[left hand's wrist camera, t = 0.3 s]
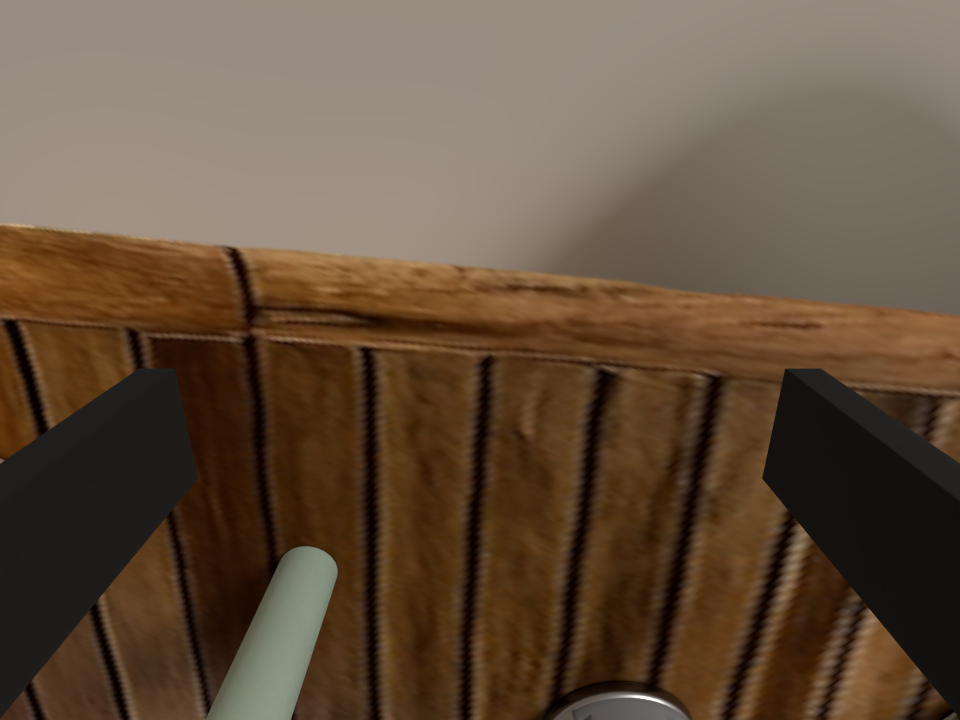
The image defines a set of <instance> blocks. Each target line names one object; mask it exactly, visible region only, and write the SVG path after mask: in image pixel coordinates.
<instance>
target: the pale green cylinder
mask: <svg viewBox="0 0 960 720" xmlns="http://www.w3.org/2000/svg"><path fill="white" fill-rule="evenodd" d="M337 574H338V571H337V566H336V563H335V561H334V560H333V559H332V557H331V556H330V555H329V554H327V553H326V552H324V551H323V550H321V549H318V548H315V547H309V546H302V547H296V548H294V549H291V550H290V551H288V552H287V553H286V554H284V556H283V557H282V559H281V561H280V563H279V565H278V567H277V569H276V571H275V573H274V575H273V578H272V580H271V582H270V584H269V586H268V588H267V590H266V592H265V595H264V597H263V599H262V601H261V603H260V605H259V607H258V610H257V612H256V614H255V616H254V618H253V620H252V622H251V624H250V627H249V629H248V631H247V633H246V635H245V637H244V639H243V641H242V644H241V646H240V648H239V650H238V652H237V654H236V656H235V659H234V661H233V663H232V665H231V667H230V669H229V671H228V673H227V676H226V678H225V680H224V682H223V684H222V686H221V688H220V690H219V693H218V695H217V697H216V699H215V701H214V703H213V705H212V708H211V710H210V712H209V714H208V716H207V718H206V720H291V717H292V714H293V711H294V708H295V705H296V702H297V699H298V696H299V693H300V689H301V686H302V683H303V680H304V677H305V674H306V671H307V668H308V665H309V662H310V659H311V656H312V652H313V649H314V646H315V643H316V640H317V637H318V634H319V631H320V628H321V625H322V622H323V618H324V615H325V612H326V609H327V606H328V603H329V600H330V597H331V594H332V591H333V588H334V585H335V581H336V578H337Z"/></svg>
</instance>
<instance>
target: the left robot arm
mask: <svg viewBox="0 0 960 720" xmlns="http://www.w3.org/2000/svg"><path fill="white" fill-rule="evenodd" d="M197 479H198V478H197V473H196V468H195V463H194V459H193V454H192V449H191V444H190V439H189V435H188V430H187V425H186V420H185V416H184V411H183V406H182V401H181V396H180V392H179V387H178V382H177V377H176V373H175V369H138V370H136V371H135V372H134V373H132V374H131V375H129V376H128V377H126V378H125V379H123V380H122V381H120V382H119V383H117V384H116V385H115V386H113V387H112V388H110V389H109V390H107V391H106V392H104V393H103V394H101V395H100V396H98V397H97V398H95V399H94V400H93V401H91V402H90V403H88V404H87V405H85V406H84V407H82V408H81V409H79V410H78V411H76V412H75V413H74V414H72V415H71V416H69V417H68V418H66V419H65V420H63V421H62V422H60V423H59V424H57V425H56V426H55V427H53V428H52V429H50V430H49V431H47V432H46V433H44V434H43V435H41V436H40V437H38V438H37V439H36V440H34V441H33V442H31V443H30V444H28V445H27V446H25V447H24V448H22V449H21V450H19V451H18V452H17V453H15V454H14V455H12V456H11V457H9V458H8V459H6V460H5V461H3V462H2V463H0V718H1V717H2V716H3V714H4V713H5V712H6V711H7V710H8V708H9V707H10V706H11V705H12V703H13V702H14V701H15V700H16V699H17V697H18V696H19V695H20V694H21V693H22V691H23V690H24V689H25V688H26V686H27V685H28V684H29V683H30V682H31V680H32V679H33V678H34V677H35V676H36V674H37V673H38V672H39V671H40V669H41V668H42V667H43V666H44V665H45V663H46V662H47V661H48V660H49V659H50V657H51V656H52V655H53V654H54V652H55V651H56V650H57V649H58V648H59V646H60V645H61V644H62V643H63V642H64V640H65V639H66V638H67V637H68V635H69V634H70V633H71V632H72V631H73V629H74V628H75V627H76V626H77V625H78V623H79V622H80V621H81V620H82V618H83V617H84V616H85V615H86V614H87V612H88V611H89V610H90V609H91V607H92V606H93V605H94V604H95V603H96V601H97V600H98V599H99V598H100V597H101V595H102V594H103V593H104V592H105V590H106V589H107V588H108V587H109V586H110V584H111V583H112V582H113V581H114V580H115V578H116V577H117V576H118V575H119V573H120V572H121V571H122V570H123V569H124V567H125V566H126V565H127V564H128V563H129V561H130V560H131V559H132V558H133V556H134V555H135V554H136V553H137V552H138V550H139V549H140V548H141V547H142V546H143V544H144V543H145V542H146V541H147V539H148V538H149V537H150V536H151V535H152V533H153V532H154V531H155V530H156V529H157V527H158V526H159V525H160V524H161V522H162V521H163V520H164V519H165V518H166V516H167V515H168V514H169V513H170V512H171V510H172V509H173V508H174V507H175V505H176V504H177V503H178V502H179V501H180V499H181V498H182V497H183V496H184V495H185V493H186V492H187V491H188V490H189V488H190V487H191V486H192V485H193V484H194V482H195V481H196V480H197ZM762 479H763V480H764V481H765V482H766V484H767V485H768V486H769V487H770V488H771V490H772V491H773V492H774V493H775V495H776V496H777V497H778V498H779V499H780V501H781V502H782V503H783V504H784V505H785V507H786V508H787V509H788V510H789V512H790V513H791V514H792V515H793V516H794V518H795V519H796V520H797V521H798V522H799V524H800V525H801V526H802V527H803V529H804V530H805V531H806V532H807V533H808V535H809V536H810V537H811V538H812V539H813V541H814V542H815V543H816V544H817V546H818V547H819V548H820V549H821V550H822V552H823V553H824V554H825V555H826V556H827V558H828V559H829V560H830V561H831V563H832V564H833V565H834V566H835V567H836V569H837V570H838V571H839V572H840V573H841V575H842V576H843V577H844V578H845V580H846V581H847V582H848V583H849V584H850V586H851V587H852V588H853V589H854V590H855V592H856V593H857V594H858V595H859V597H860V598H861V599H862V600H863V601H864V603H865V604H866V605H867V606H868V607H869V609H870V610H871V611H872V612H873V614H874V615H875V616H876V617H877V618H878V620H879V621H880V622H881V623H882V625H883V626H884V627H885V628H886V629H887V631H888V632H889V633H890V634H891V635H892V637H893V638H894V639H895V640H896V642H897V643H898V644H899V645H900V646H901V648H902V649H903V650H904V651H905V652H906V654H907V655H908V656H909V657H910V659H911V660H912V661H913V662H914V663H915V665H916V666H917V667H918V668H919V669H920V671H921V672H922V673H923V674H924V676H925V677H926V678H927V679H928V680H929V682H930V683H931V684H932V685H933V686H934V688H935V689H936V690H937V691H938V693H939V694H940V695H941V696H942V697H943V699H944V700H945V701H946V702H947V703H948V705H949V706H950V707H951V708H952V710H953V711H954V712H955V713H956V714H957V716H958V717H959V718H960V463H958V462H957V461H955V460H954V459H952V458H951V457H949V456H948V455H946V454H945V453H943V452H942V451H941V450H939V449H938V448H936V447H935V446H933V445H932V444H930V443H929V442H927V441H926V440H924V439H923V438H922V437H920V436H919V435H917V434H916V433H914V432H913V431H911V430H910V429H908V428H907V427H905V426H904V425H903V424H901V423H900V422H898V421H897V420H895V419H894V418H892V417H891V416H889V415H888V414H886V413H885V412H884V411H882V410H881V409H879V408H878V407H876V406H875V405H873V404H872V403H870V402H869V401H867V400H866V399H865V398H863V397H862V396H860V395H859V394H857V393H856V392H854V391H853V390H851V389H850V388H848V387H847V386H845V385H844V384H843V383H841V382H840V381H838V380H837V379H835V378H834V377H832V376H831V375H829V374H828V373H826V372H825V371H824V370H822V369H785V373H784V377H783V382H782V387H781V392H780V396H779V401H778V406H777V411H776V416H775V420H774V425H773V430H772V435H771V439H770V444H769V449H768V454H767V459H766V463H765V468H764V473H763V478H762ZM544 720H692V717H691V715H690V713H689V711H688V710H687V708H686V707H685V706H684V704H683V703H682V702H681V701H680V700H678V699H677V698H676V697H675V696H673V695H672V694H670V693H669V692H667V691H665V690H663V689H660V688H658V687H655V686H652V685H648V684H644V683H639V682H628V681H618V682H606V683H601V684H596V685H592V686H589V687H586V688H583V689H581V690H578V691H576V692H574V693H572V694H570V695H568V696H567V697H565V698H564V699H562V700H561V701H560V702H558V703H557V704H556V705H555V706H554V707H553V708H552V709H551V710H550V711H549V712H548V714H547V715H546V716H545V718H544Z"/></svg>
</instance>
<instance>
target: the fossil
mask: <svg viewBox="0 0 960 720" xmlns="http://www.w3.org/2000/svg"><path fill="white" fill-rule="evenodd" d="M943 720H960V718H959V717H958V716H957V714H956V713H955V712H953V713H952V714H951V715H949V716H948V717H947V718H945V719H943Z"/></svg>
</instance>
